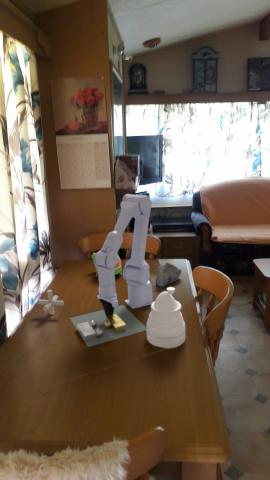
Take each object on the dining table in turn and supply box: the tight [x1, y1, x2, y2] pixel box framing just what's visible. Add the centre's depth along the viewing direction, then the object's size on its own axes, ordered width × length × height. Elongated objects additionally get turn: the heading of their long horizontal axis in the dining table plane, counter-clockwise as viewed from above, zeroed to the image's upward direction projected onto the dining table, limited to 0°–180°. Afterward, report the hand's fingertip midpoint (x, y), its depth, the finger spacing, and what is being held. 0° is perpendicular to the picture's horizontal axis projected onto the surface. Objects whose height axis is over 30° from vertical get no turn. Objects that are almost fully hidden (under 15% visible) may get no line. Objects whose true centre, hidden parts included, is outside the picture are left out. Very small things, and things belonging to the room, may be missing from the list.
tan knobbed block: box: [103, 314, 126, 333], centre depth 127 cm, size 9×6×2 cm
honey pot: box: [145, 286, 186, 349], centre depth 117 cm, size 13×13×18 cm
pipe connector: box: [37, 289, 65, 316], centre depth 138 cm, size 10×10×10 cm
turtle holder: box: [91, 252, 123, 277], centre depth 177 cm, size 12×18×12 cm
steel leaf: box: [76, 320, 103, 343], centre depth 124 cm, size 9×6×2 cm
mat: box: [69, 304, 147, 348], centre depth 130 cm, size 22×22×1 cm
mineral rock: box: [155, 262, 183, 288], centre depth 163 cm, size 13×11×10 cm
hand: (109, 317), depth 133 cm, fingers closed
